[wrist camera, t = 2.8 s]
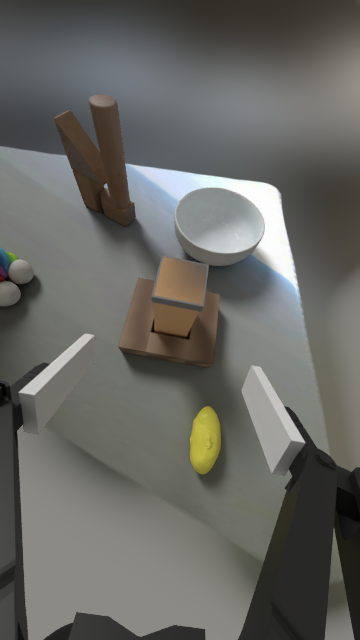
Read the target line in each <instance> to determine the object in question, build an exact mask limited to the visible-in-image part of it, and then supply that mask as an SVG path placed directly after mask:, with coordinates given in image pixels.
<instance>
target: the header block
mask: <svg viewBox="0 0 360 640" xmlns="http://www.w3.org/2000/svg"><path fill="white" fill-rule="evenodd" d="M154 284H155V281H153V280H148V279H143V278H138V281H137V284H136V288H135V291H134V294H133V298H132V301H131V304H130V308H129V311H128V315H127V318H126V321H125V325H124V328H123V331H122V335H121V338H120V342H119V345H118V347H119V349H120V350H121V352H124V353H129V354H134V355H140V356H145V357H151V358H156V359H161V360H167V361H172V362H178V363H183V364H189V365H194V366H199V367H205V368H209V367H210V366H212V365H213V364H214V355H215V343H216V332H217V321H218V310H219V299H220V294H217V293H212V292H207V291H206V293H205V301H204V307H203V309H202V311H201V312H198V314H197V316H196V318H195V320H194V322H193V324H192V326H191V329H190V331H189V333H188V337H187V339H183V338H178V337H172V336H167V335H162V334H157V333H152V332H153V327H154V302H152V298H151V296H152V292H153V288H154Z"/></svg>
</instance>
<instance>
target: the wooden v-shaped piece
mask: <svg viewBox="0 0 360 640" xmlns="http://www.w3.org/2000/svg"><path fill="white" fill-rule="evenodd" d="M89 104H90V109H91V113H92V118H93V122H94V127H95V131H96V136H97V140H98V145H99V149H100V152H99V151H98V149H97V148H96V146H95V145H94V143H93V142H92V141H91V139H90V138H89V136H88V135H87V133H86V132H85V130H84V129H83V128H82V126H81V125H80V123H79V122H78V120H77V119H76V118H75V116H74V114H73V113H72V112H71V110H68V111H66V112H64V113H63V114H61V115H59V116H57V117H55V118H54V121H55V124H56V126H57V129H58V132H59V135H60V138H61V140H62V143H63V146H64V149H65V151H66V154H67V157H68V160H69V163H70V165H71V168H72V169H73V173H74V176H75V179H76V182H77V184H78V187H79V190H80V193H81V196H82V198H83V201H84V204H85V205H86V206H87V207H89V208H91V209H93V210H95V211H97V212H99V211H100V210H101V209H102V208H103V210H104V214H105V216H107V217H109V218H110V219H112V220H114V221H116V222H118V223H120V224H122V225H124V226H126V227H127V226H128V225H129V224H130V223H131V222H132V221H133V220H134V219H135V217H136V216H135V206H134V203H133V202H132V201H130V198H129V190H128V183H127V175H126V167H125V159H124V152H123V143H122V136H121V128H120V120H119V112H118V105H117V102H116V100H115V99H114V98H112V97H110V96H108V95H103V94H100V95H94V96H92V97H91V98H90V99H89ZM106 183H107V185H108V189H106V188H104V184H106Z"/></svg>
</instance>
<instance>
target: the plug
mask: <svg viewBox="0 0 360 640" xmlns="http://www.w3.org/2000/svg"><path fill="white" fill-rule="evenodd" d="M208 269H209V265H207V264H202V263H197V262H193V261H188V260H183V259H178V258H174V257H169V256H164V255H162V257H161V261H160V265H159V269H158V272H157V276H156V280H155V284H154V288H153V292H152V296H151V298H152V302H154V333H157V334H162V335H167V336H172V337H178V338H183V339H186V337H187V335H188V333H189V331H190V329H191V326H192V324H193V322H194V320H195V318H196V316H197V314H198V312H201V311H202V309H203V307H204V301H205V293H206V285H207V277H208Z"/></svg>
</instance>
